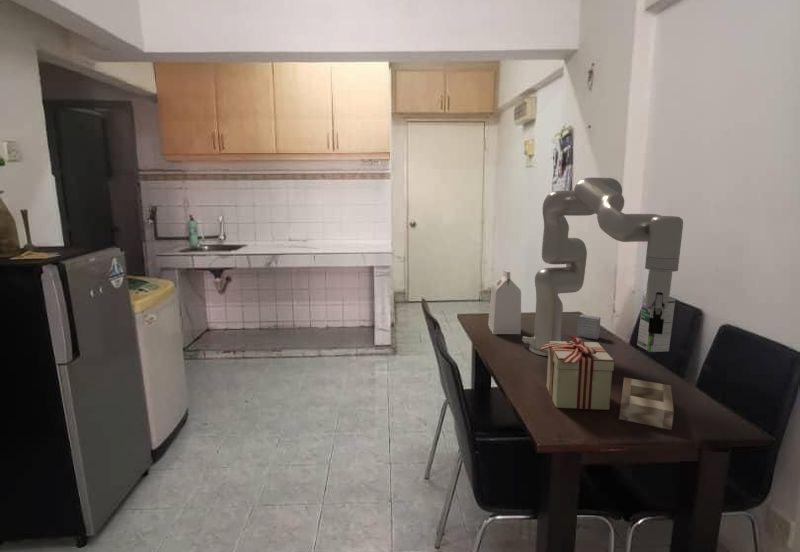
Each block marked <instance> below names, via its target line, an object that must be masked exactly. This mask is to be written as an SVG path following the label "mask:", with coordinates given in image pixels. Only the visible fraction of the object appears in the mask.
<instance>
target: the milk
mask: <svg viewBox="0 0 800 552" xmlns="http://www.w3.org/2000/svg"><path fill="white" fill-rule="evenodd" d="M487 325H488V326H489V327H488V326H487V327H488V328H489V330H490V332H491V331H492V332H491V333H492V335H497V334H522V333H521V332H522V291H521V289H520V288H519V286H518V285H517V284H516V283H515V282H514V281H513V280H512V279H511V271H510V270H509V269H503V273H502V276H501V277H499V278H498V279H497V280H496V281H495V282H493V284H492V285H491V289H490V301H489V310H488V323H487Z"/></svg>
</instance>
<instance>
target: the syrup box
mask: <svg viewBox="0 0 800 552" xmlns="http://www.w3.org/2000/svg"><path fill="white" fill-rule="evenodd" d="M645 303H646V293H645V294H642V301H641V308H640V309H641V310H640V319H639V320H640V321H639V325H638V326H639V327H638V336H637V345H636V346H638V347H640V348H641V349H644V350H646V351H647V352H648V353H656V352H657V353H658V352H659V353H661V352H662V353H663V352H670V347H671V346H670V344H671V338H672V337H671V336H672V330H673V322H674V321H673V320H674V311H675V307H676V306H675V305H676V298H673V297H670V296H669V300H668V305H667V308H666V309H664V313H663V319H664V323H663V332H662V334H654V333H649V332H648V328H649V319H650V317H651V308H652V306H648V308H647V307H646V305H645ZM662 304H663V303H662ZM654 306H656V300H655V301H654ZM664 306H665V304H664ZM661 307H662V306H661ZM654 310H655V309H654ZM653 315H654V314H653Z"/></svg>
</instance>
